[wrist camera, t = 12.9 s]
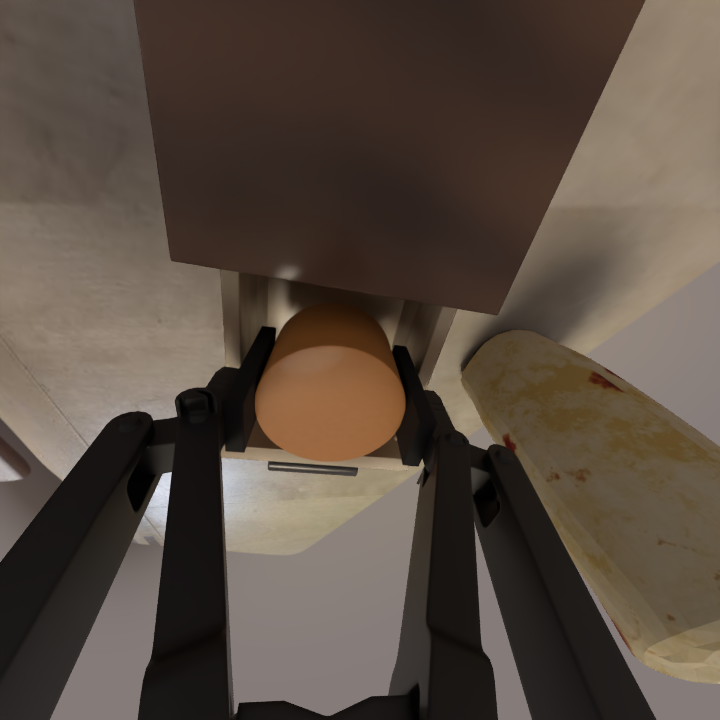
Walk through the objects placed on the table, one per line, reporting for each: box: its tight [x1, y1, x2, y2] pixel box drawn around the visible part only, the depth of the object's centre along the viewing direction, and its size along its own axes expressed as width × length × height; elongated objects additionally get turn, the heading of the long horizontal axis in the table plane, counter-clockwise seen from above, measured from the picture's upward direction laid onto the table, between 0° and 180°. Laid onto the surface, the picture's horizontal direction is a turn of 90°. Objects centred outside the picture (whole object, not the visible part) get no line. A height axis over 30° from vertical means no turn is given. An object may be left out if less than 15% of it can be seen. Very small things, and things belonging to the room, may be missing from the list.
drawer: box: [220, 269, 457, 476], centre depth 19 cm, size 20×12×8 cm, turn 169°
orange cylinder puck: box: [255, 303, 406, 462], centre depth 15 cm, size 7×7×5 cm
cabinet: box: [134, 0, 645, 315], centre depth 12 cm, size 17×14×10 cm
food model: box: [461, 329, 720, 684], centre depth 18 cm, size 10×7×20 cm
